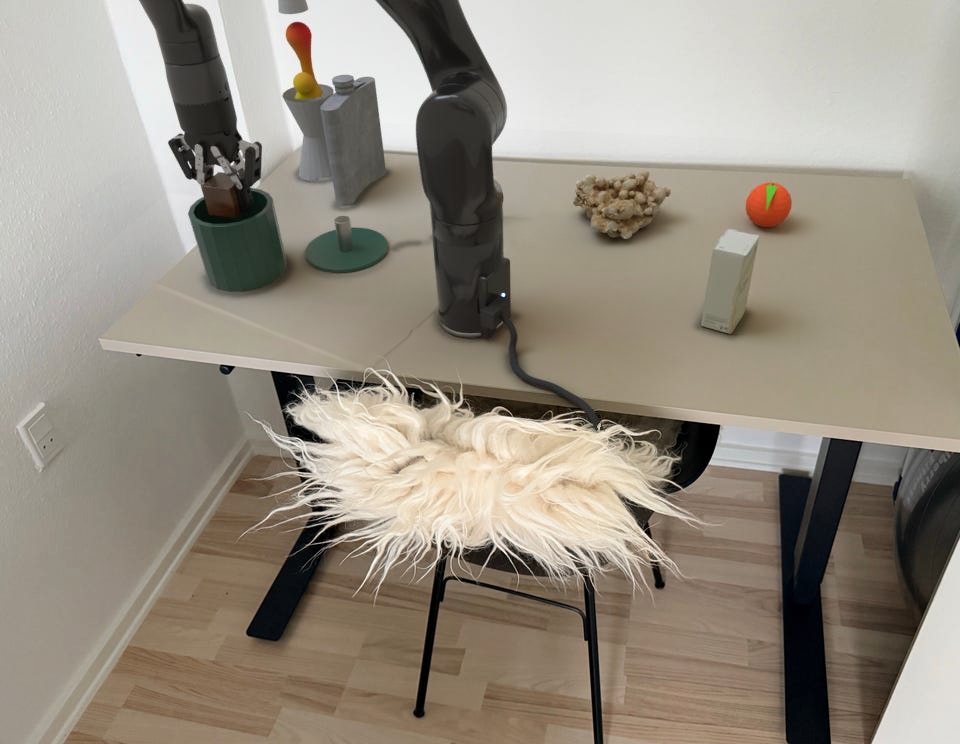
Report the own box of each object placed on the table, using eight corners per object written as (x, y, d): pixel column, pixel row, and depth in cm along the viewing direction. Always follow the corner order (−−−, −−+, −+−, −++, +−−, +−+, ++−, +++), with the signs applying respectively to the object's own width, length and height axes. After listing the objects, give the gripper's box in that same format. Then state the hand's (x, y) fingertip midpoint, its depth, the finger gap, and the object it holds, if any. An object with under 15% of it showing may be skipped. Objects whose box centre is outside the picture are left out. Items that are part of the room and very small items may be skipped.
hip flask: (349, 209, 138) (331, 95, 126) (329, 206, 139) (309, 93, 127) (389, 171, 150) (376, 62, 137) (369, 168, 151) (355, 60, 138)
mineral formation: (567, 209, 135) (649, 191, 137) (596, 259, 127) (683, 238, 129) (568, 170, 129) (654, 150, 131) (599, 219, 120) (690, 198, 122)
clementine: (784, 241, 125) (793, 199, 120) (738, 234, 127) (746, 193, 122) (788, 217, 130) (798, 177, 126) (745, 211, 132) (752, 171, 128)
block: (253, 203, 118) (246, 175, 115) (236, 218, 114) (229, 189, 111) (225, 200, 119) (218, 171, 116) (209, 214, 115) (200, 185, 112)
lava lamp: (305, 161, 154) (267, -37, 132) (350, 161, 154) (320, -38, 131) (292, 181, 148) (250, -24, 125) (339, 182, 147) (306, -25, 124)
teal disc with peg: (404, 245, 128) (400, 211, 124) (353, 284, 120) (347, 248, 116) (342, 226, 134) (337, 193, 130) (289, 262, 125) (281, 227, 121)
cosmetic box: (730, 335, 106) (746, 257, 99) (698, 326, 108) (711, 248, 101) (745, 311, 110) (761, 234, 103) (714, 303, 112) (727, 226, 105)
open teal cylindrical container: (303, 264, 125) (289, 198, 117) (247, 303, 117) (228, 234, 110) (249, 245, 130) (232, 180, 123) (191, 281, 122) (170, 214, 115)
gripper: (137, 97, 105) (174, 214, 115) (232, 106, 101) (261, 225, 112) (171, 77, 110) (203, 191, 121) (262, 85, 106) (286, 201, 117)
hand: (230, 207), depth 116 cm, fingers closed on block, 4 cm apart
